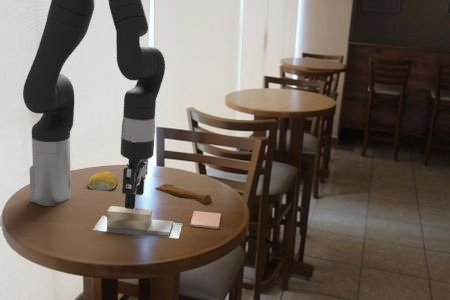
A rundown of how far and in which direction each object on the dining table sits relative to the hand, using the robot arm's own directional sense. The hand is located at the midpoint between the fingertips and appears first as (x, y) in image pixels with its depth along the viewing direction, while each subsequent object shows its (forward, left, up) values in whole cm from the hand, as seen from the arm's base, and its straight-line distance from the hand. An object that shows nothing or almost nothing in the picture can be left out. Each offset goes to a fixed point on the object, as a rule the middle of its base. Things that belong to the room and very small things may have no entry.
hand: (134, 201), depth 111 cm
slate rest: (+2, -2, -7) cm, 7 cm away
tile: (+14, +5, -6) cm, 16 cm away
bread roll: (-15, +25, -7) cm, 29 cm away
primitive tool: (+9, +23, -7) cm, 25 cm away
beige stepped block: (+2, -2, -6) cm, 6 cm away
